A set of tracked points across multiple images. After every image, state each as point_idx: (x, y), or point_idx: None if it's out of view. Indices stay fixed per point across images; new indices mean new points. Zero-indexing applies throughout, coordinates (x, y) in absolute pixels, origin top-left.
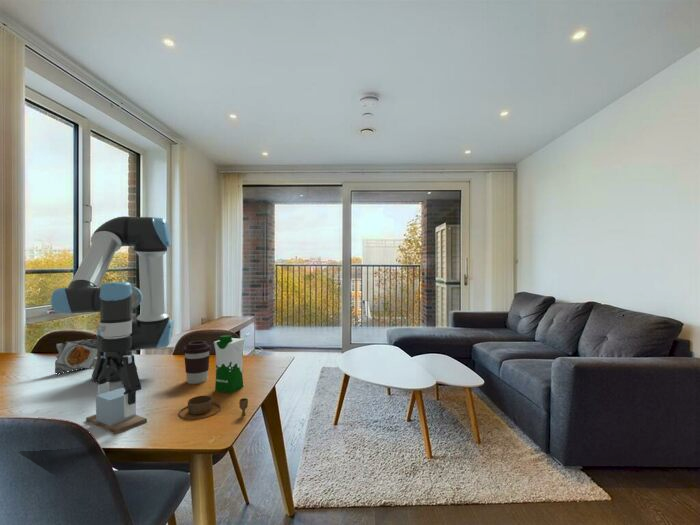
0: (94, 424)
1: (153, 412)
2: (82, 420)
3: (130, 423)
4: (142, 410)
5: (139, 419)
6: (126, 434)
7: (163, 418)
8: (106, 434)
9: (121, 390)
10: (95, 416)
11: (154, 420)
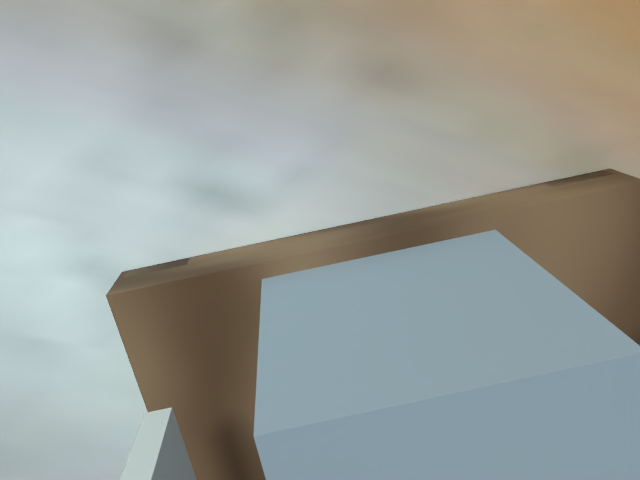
0: None
1: (385, 15)
2: (91, 475)
3: (613, 307)
4: (239, 75)
5: (604, 232)
6: None
7: (611, 6)
8: None
9: (387, 472)
10: (217, 458)
11: (578, 86)
